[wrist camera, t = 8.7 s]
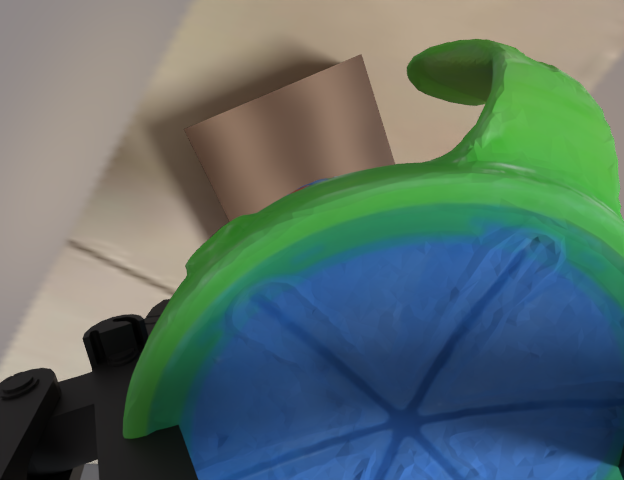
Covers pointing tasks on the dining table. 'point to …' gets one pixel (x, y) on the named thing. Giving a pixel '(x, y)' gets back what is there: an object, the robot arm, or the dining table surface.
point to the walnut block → (292, 138)
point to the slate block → (90, 472)
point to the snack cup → (414, 305)
